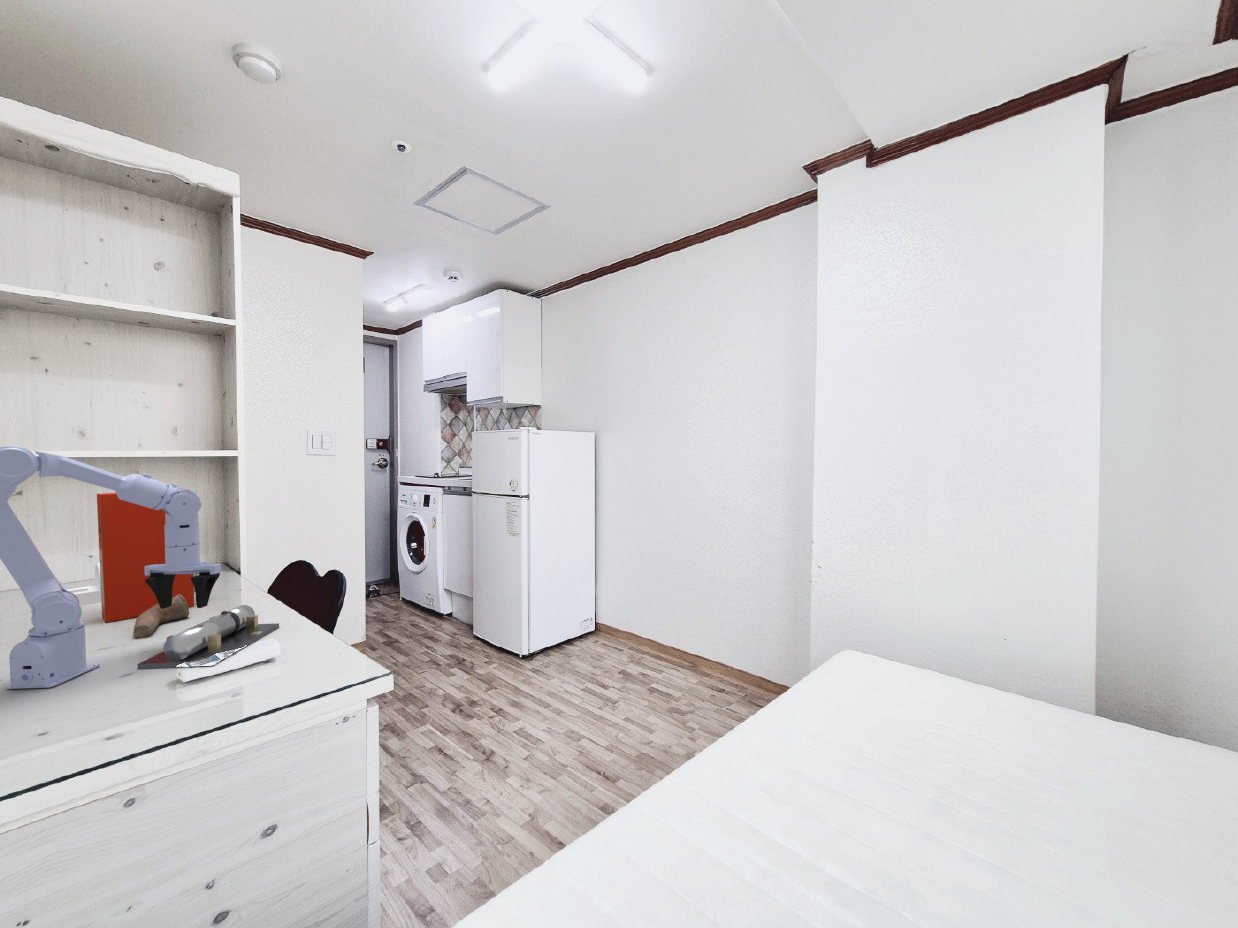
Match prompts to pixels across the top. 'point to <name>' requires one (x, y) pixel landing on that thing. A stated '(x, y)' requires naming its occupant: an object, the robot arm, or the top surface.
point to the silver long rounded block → (206, 632)
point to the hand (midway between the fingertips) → (184, 607)
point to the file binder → (131, 557)
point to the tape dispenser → (89, 590)
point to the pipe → (160, 616)
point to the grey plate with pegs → (216, 644)
